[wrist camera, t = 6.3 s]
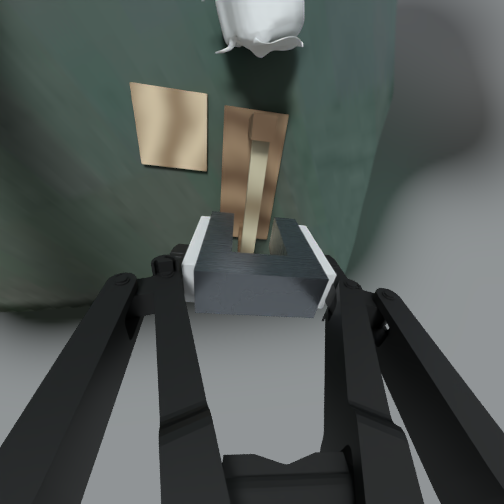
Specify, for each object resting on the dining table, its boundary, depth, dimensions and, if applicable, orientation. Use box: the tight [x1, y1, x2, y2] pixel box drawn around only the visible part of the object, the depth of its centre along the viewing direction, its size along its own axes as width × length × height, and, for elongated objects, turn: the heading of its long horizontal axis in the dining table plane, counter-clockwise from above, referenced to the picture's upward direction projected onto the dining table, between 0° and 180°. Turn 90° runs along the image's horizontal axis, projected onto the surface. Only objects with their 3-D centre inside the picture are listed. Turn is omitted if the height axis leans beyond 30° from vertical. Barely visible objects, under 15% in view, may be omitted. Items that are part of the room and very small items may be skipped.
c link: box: [194, 211, 329, 318], centre depth 15 cm, size 7×3×8 cm, turn 83°
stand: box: [220, 105, 289, 254], centre depth 28 cm, size 20×9×15 cm, turn 173°
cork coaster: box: [130, 82, 208, 171], centre depth 30 cm, size 10×10×1 cm
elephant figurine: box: [202, 0, 304, 58], centre depth 21 cm, size 10×12×9 cm
